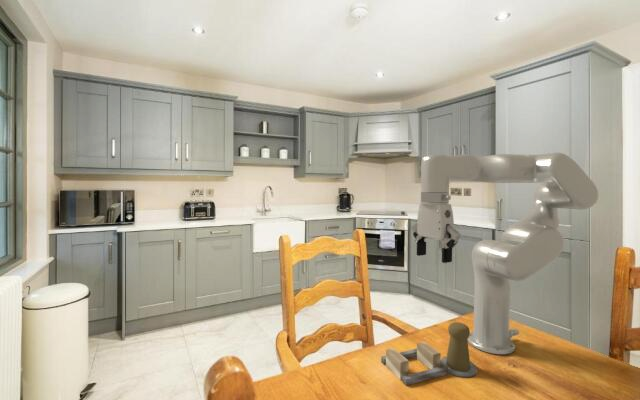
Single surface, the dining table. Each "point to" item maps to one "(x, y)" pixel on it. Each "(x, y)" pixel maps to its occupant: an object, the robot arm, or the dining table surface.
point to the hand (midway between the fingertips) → (433, 258)
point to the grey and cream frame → (423, 353)
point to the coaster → (469, 373)
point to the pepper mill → (458, 347)
